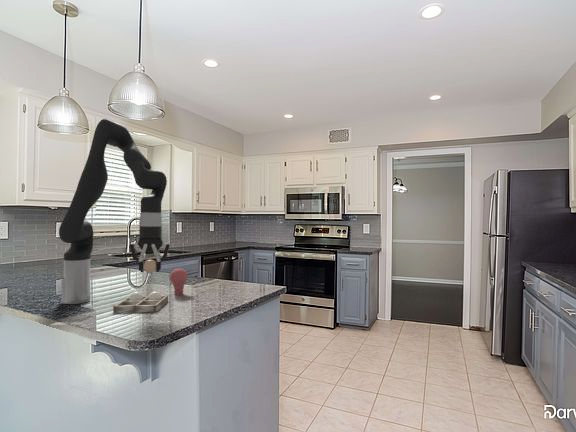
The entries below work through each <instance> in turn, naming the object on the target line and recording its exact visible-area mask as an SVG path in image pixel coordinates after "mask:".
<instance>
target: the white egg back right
mask: <svg viewBox="0 0 576 432" xmlns="http://www.w3.org/2000/svg"><path fill="white" fill-rule="evenodd" d="M147 296H148V300H161V296H162V294H161V293H160V292H159V291H157V290H156V291H152V292H150V293H149V294H148V295H147Z"/></svg>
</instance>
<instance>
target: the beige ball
mask: <svg viewBox="0 0 576 432" xmlns="http://www.w3.org/2000/svg"><path fill="white" fill-rule="evenodd" d="M156 262H157V261H156V260H154V259H147V260H145V261H144V264H143V269H144V271H145V273H146V274H153V273H154V272H156Z"/></svg>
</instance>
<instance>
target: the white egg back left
mask: <svg viewBox="0 0 576 432" xmlns="http://www.w3.org/2000/svg"><path fill="white" fill-rule="evenodd" d="M129 296H130V298H129V300H130V301H136V300H143V296H144V295H143V293H142V292H140V291H133V292H131V294H130V295H129Z"/></svg>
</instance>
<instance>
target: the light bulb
mask: <svg viewBox="0 0 576 432" xmlns="http://www.w3.org/2000/svg"><path fill="white" fill-rule="evenodd" d="M169 278H170V282H171V284H172V286H173V289H174V292H173V295H175V296H183V295H184V289H185V287H184V286H185V284H187V279H188V272H187V271H186V270H185V269H183V268H175V269H174V270H172V272H171V273H170V276H169Z"/></svg>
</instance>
